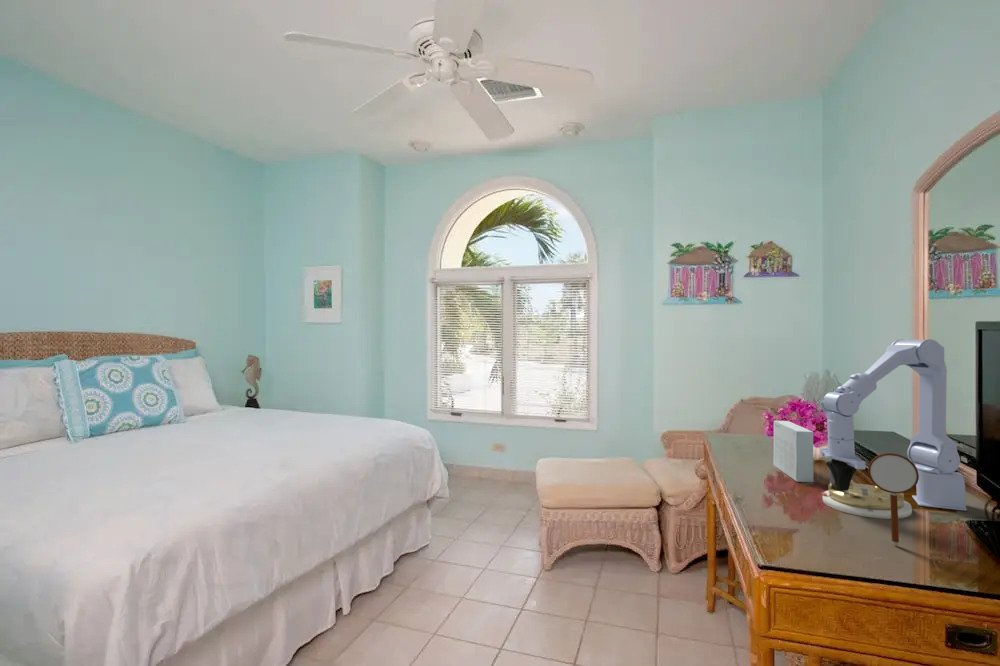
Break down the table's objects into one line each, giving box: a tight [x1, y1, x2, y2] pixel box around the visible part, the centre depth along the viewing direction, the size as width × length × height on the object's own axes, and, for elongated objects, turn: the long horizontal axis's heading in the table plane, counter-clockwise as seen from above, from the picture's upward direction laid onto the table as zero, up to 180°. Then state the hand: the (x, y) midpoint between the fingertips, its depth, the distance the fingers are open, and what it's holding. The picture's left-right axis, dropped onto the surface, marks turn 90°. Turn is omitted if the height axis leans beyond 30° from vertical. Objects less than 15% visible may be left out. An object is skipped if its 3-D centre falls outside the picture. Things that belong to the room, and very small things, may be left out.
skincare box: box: [772, 420, 814, 483], centre depth 162 cm, size 21×6×16 cm, turn 168°
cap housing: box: [821, 489, 913, 520], centre depth 130 cm, size 19×19×2 cm
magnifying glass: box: [867, 452, 919, 547], centre depth 106 cm, size 9×2×20 cm, turn 57°
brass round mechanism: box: [828, 468, 905, 510], centre depth 130 cm, size 16×16×7 cm
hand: (842, 489), depth 129 cm, fingers closed
